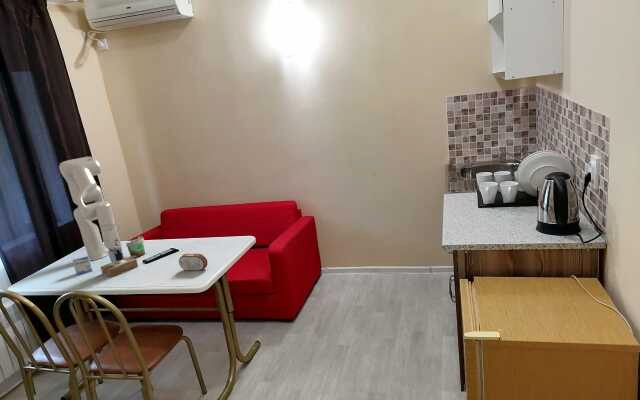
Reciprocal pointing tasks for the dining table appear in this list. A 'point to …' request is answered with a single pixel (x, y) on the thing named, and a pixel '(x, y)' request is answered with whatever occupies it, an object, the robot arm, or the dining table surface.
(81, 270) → the medicine box
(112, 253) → the slate block
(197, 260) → the tin
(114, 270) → the plinth
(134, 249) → the food container
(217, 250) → the dining table surface
